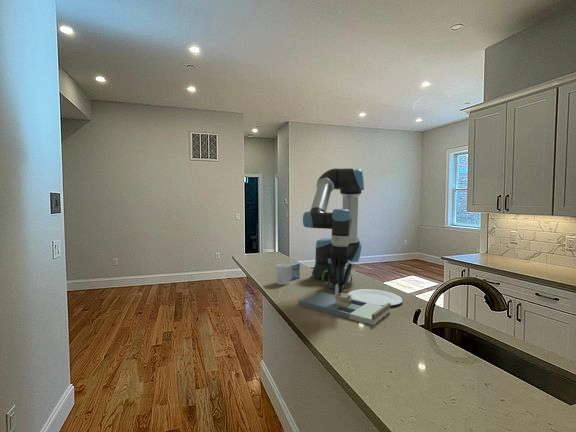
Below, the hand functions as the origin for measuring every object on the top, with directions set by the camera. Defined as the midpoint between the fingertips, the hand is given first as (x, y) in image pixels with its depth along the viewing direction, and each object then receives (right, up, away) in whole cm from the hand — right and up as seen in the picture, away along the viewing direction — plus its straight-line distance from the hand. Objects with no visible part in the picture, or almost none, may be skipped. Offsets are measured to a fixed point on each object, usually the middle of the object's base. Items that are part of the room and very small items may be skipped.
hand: (337, 299), depth 137 cm
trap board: (+2, -4, -1) cm, 4 cm away
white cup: (-24, -1, +37) cm, 44 cm away
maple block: (+2, -2, -2) cm, 3 cm away
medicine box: (-19, -1, +48) cm, 51 cm away
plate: (+20, -4, +14) cm, 24 cm away
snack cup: (+4, -2, +30) cm, 30 cm away
